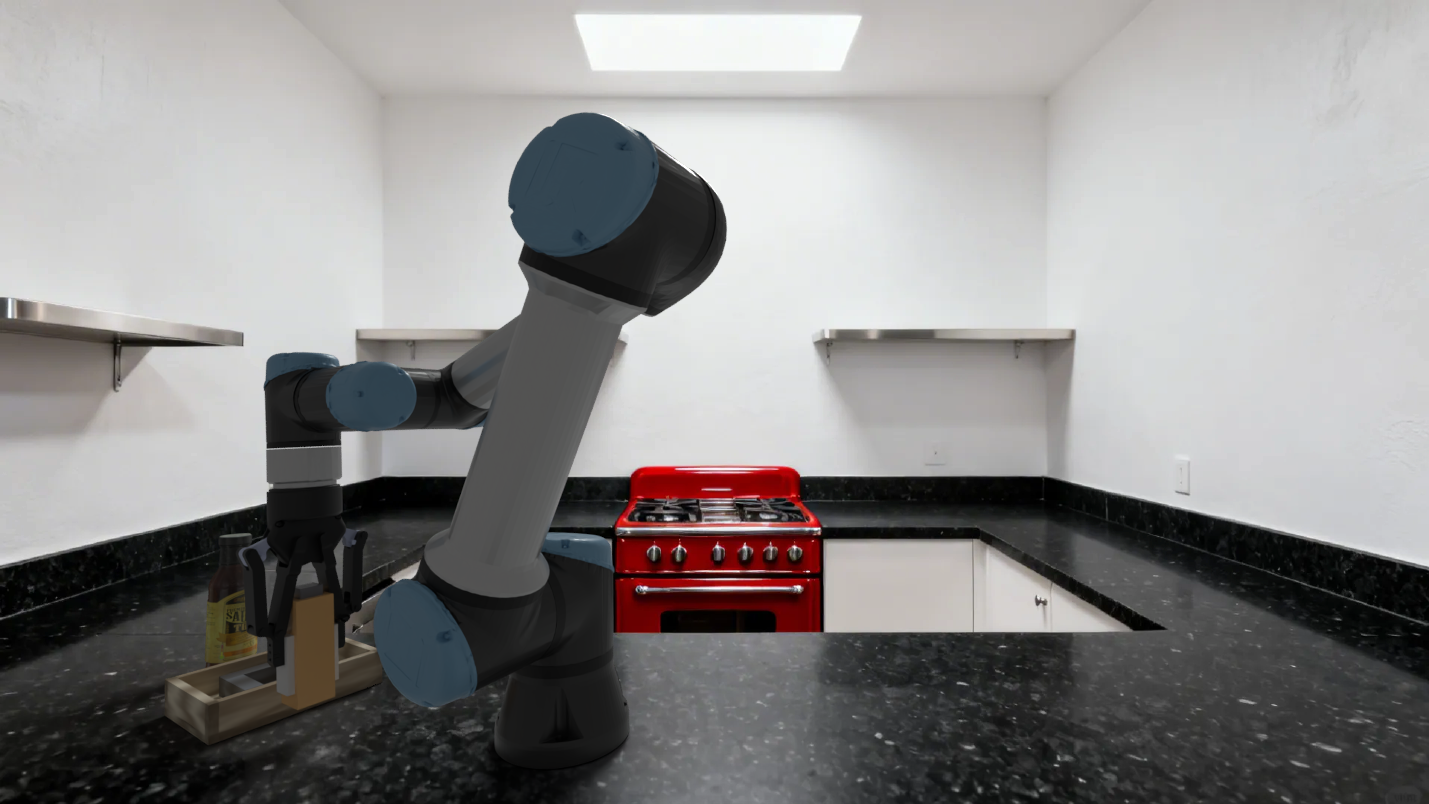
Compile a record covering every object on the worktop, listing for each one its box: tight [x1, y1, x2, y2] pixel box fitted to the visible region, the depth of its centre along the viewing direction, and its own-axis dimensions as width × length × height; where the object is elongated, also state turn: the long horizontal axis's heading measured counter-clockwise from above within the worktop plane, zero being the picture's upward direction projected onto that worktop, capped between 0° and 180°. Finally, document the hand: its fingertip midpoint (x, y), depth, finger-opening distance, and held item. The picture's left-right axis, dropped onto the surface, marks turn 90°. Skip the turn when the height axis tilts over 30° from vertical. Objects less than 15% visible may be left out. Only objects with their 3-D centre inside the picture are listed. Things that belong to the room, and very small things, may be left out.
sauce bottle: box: [204, 532, 258, 668], centre depth 95 cm, size 7×6×20 cm
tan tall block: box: [281, 582, 335, 710], centre depth 74 cm, size 4×4×13 cm
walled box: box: [164, 636, 383, 746], centre depth 84 cm, size 14×20×4 cm
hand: (308, 684), depth 73 cm, fingers closed on tan tall block, 4 cm apart
